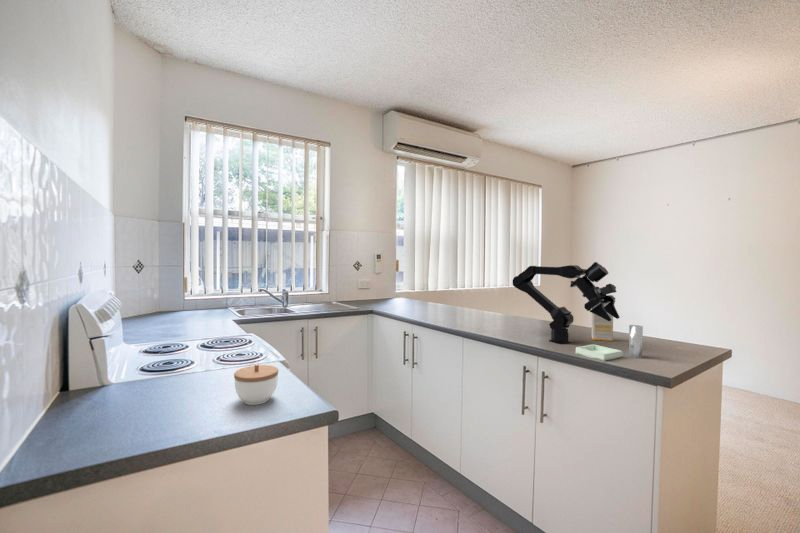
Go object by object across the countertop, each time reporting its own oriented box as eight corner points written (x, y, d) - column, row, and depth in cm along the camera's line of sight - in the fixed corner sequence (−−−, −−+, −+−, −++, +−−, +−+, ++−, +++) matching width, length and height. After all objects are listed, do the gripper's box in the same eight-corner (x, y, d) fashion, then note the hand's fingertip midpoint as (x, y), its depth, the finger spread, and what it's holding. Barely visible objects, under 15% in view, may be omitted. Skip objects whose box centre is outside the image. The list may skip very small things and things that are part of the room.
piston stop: (625, 355, 143) (627, 325, 143) (632, 354, 145) (633, 324, 145) (637, 358, 139) (638, 327, 139) (644, 357, 142) (645, 326, 141)
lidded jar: (246, 412, 88) (246, 374, 88) (226, 400, 95) (226, 364, 95) (286, 400, 96) (286, 364, 96) (265, 389, 103) (265, 356, 103)
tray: (575, 353, 146) (575, 347, 146) (593, 350, 151) (593, 344, 151) (603, 361, 136) (604, 354, 135) (622, 357, 141) (622, 350, 141)
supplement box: (610, 339, 172) (611, 311, 171) (612, 341, 167) (613, 313, 167) (590, 337, 174) (591, 310, 174) (592, 340, 170) (593, 312, 169)
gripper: (594, 277, 145) (623, 309, 138) (611, 276, 157) (639, 305, 150) (573, 294, 151) (599, 326, 144) (591, 292, 164) (616, 321, 156)
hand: (614, 319), depth 148 cm, fingers open, 9 cm apart
